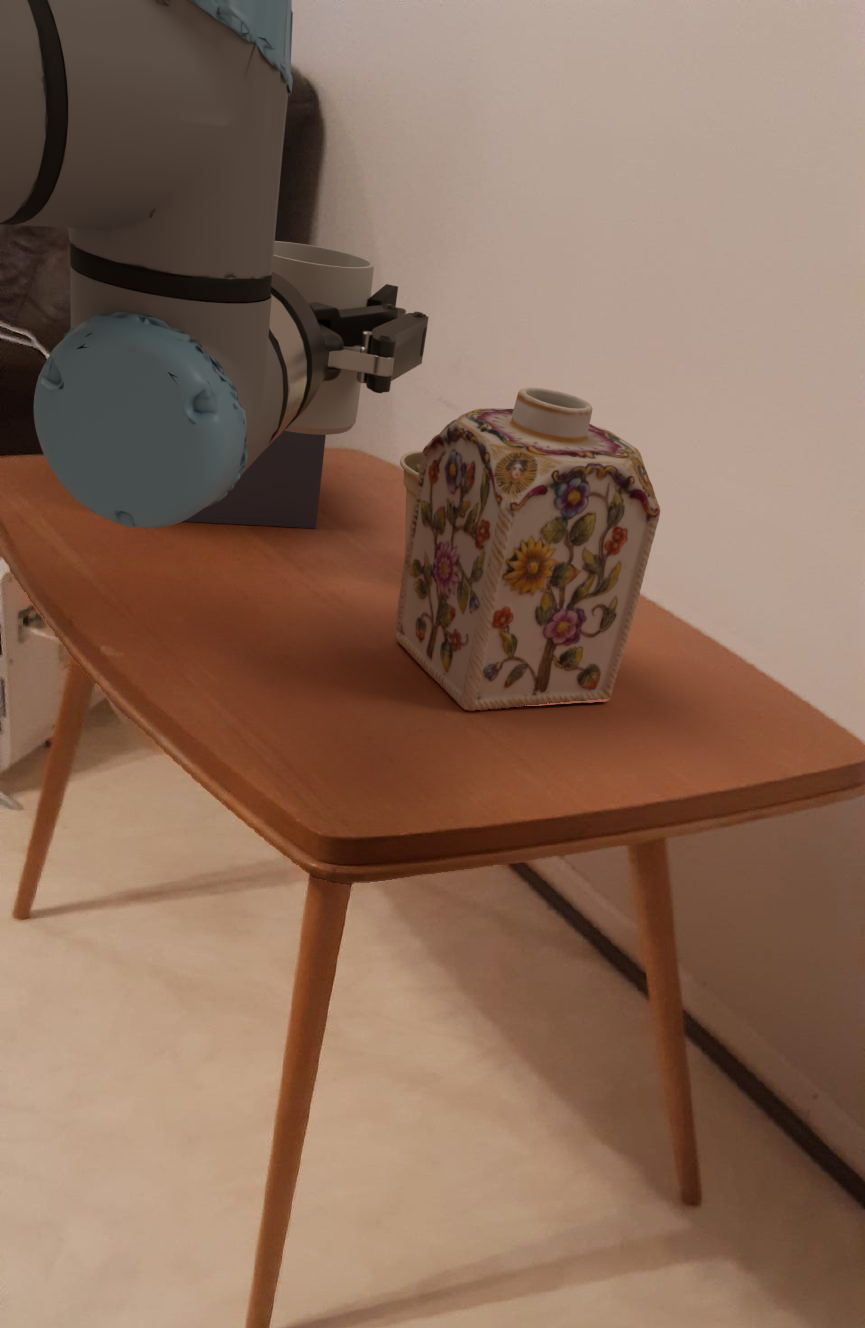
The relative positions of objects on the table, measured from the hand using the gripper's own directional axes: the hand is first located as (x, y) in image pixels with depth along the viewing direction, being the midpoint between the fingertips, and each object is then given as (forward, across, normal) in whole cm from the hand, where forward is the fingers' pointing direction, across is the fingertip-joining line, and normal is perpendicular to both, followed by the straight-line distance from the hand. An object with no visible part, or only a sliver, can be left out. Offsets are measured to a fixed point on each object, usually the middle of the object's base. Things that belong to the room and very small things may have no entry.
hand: (326, 296), depth 76 cm
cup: (-5, -1, -6) cm, 8 cm away
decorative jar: (-4, +15, -20) cm, 26 cm away
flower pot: (+12, +10, -20) cm, 26 cm away
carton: (+21, -12, -20) cm, 32 cm away
